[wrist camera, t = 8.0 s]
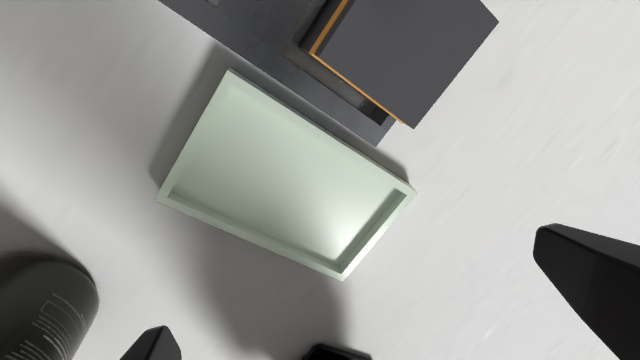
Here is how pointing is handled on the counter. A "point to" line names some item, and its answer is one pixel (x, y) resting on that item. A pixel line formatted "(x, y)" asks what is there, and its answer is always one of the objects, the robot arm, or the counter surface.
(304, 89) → the strip
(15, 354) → the supplement bottle
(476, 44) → the dark grey striped block
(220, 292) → the counter surface
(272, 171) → the tray
